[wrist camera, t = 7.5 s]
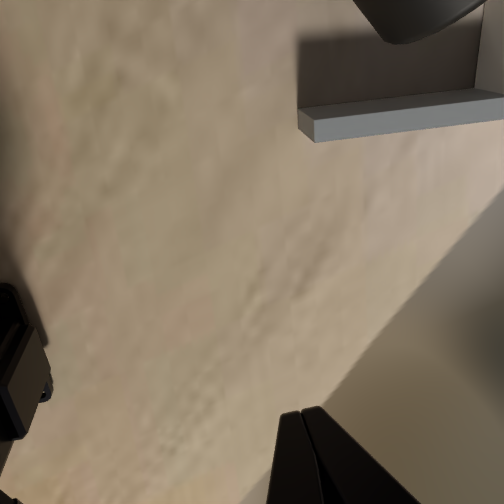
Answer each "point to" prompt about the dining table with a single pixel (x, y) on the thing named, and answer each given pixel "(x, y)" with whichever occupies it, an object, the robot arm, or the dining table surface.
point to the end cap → (413, 17)
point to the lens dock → (422, 98)
